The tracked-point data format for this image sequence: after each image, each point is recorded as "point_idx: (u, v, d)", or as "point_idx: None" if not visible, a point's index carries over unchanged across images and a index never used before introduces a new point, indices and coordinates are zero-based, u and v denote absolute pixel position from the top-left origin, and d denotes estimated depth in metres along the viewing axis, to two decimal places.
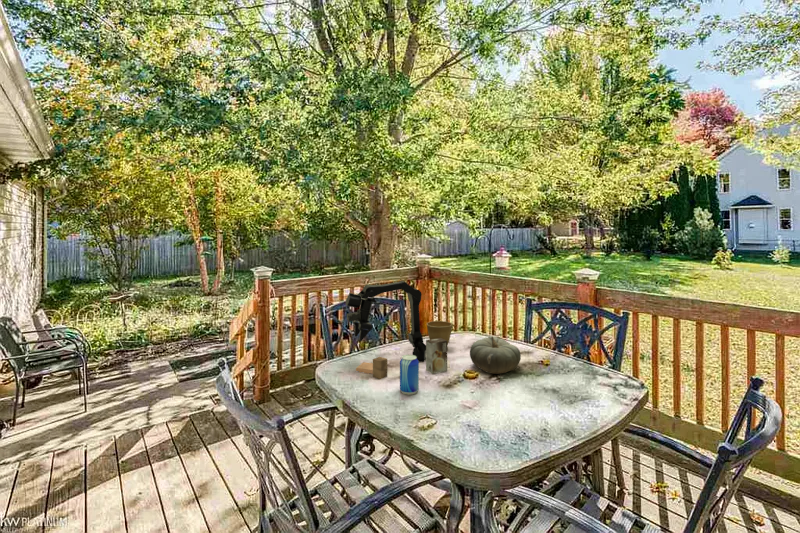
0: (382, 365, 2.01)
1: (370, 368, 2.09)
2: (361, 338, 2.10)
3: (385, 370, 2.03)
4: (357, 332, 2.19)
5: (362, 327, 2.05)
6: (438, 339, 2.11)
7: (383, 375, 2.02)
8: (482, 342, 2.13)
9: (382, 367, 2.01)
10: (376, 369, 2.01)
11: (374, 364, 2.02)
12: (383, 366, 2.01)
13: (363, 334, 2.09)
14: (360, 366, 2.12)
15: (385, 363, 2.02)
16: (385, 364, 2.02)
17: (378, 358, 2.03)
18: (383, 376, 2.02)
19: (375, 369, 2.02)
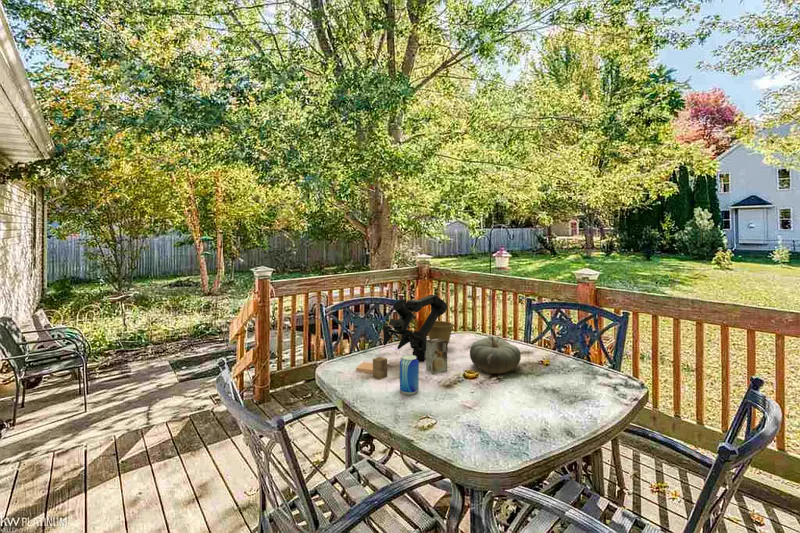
0: (382, 365, 2.01)
1: (370, 368, 2.09)
2: (400, 346, 2.06)
3: (385, 370, 2.03)
4: (386, 342, 2.13)
5: (410, 334, 2.05)
6: (438, 339, 2.11)
7: (383, 375, 2.02)
8: (482, 342, 2.13)
9: (382, 367, 2.01)
10: (376, 369, 2.01)
11: (374, 364, 2.02)
12: (383, 366, 2.01)
13: (403, 343, 2.07)
14: (360, 366, 2.12)
15: (385, 363, 2.02)
16: (385, 364, 2.02)
17: (378, 358, 2.03)
18: (383, 376, 2.02)
19: (375, 369, 2.02)
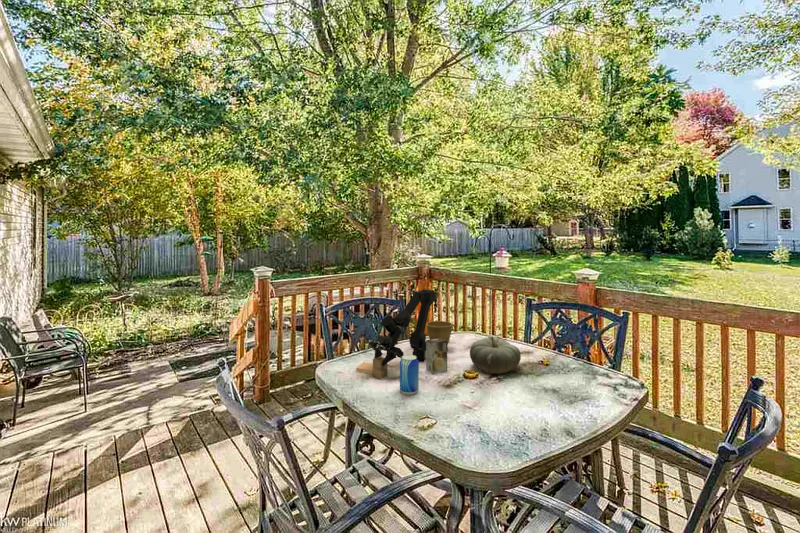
0: None
1: (370, 368, 2.09)
2: (384, 363, 2.01)
3: (385, 370, 2.03)
4: None
5: (398, 352, 1.98)
6: (438, 339, 2.11)
7: (383, 375, 2.02)
8: (482, 342, 2.13)
9: (382, 367, 2.01)
10: (376, 369, 2.01)
11: (374, 364, 2.02)
12: (383, 366, 2.01)
13: (388, 359, 2.02)
14: (360, 366, 2.12)
15: None
16: None
17: (378, 358, 2.03)
18: (383, 376, 2.02)
19: (375, 369, 2.02)
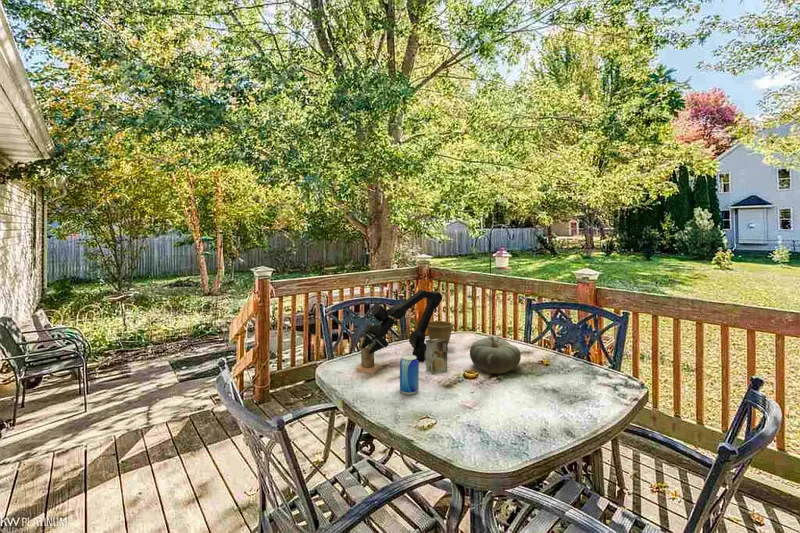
0: (367, 355, 2.09)
1: (370, 368, 2.09)
2: (371, 351, 2.07)
3: (371, 360, 2.11)
4: (364, 345, 2.16)
5: (380, 341, 2.04)
6: (438, 339, 2.11)
7: (368, 364, 2.10)
8: (482, 342, 2.13)
9: (367, 357, 2.10)
10: (363, 358, 2.11)
11: (361, 353, 2.12)
12: (369, 356, 2.10)
13: (375, 348, 2.07)
14: (360, 366, 2.12)
15: None
16: (371, 354, 2.11)
17: (366, 348, 2.13)
18: (369, 366, 2.10)
19: (362, 358, 2.12)
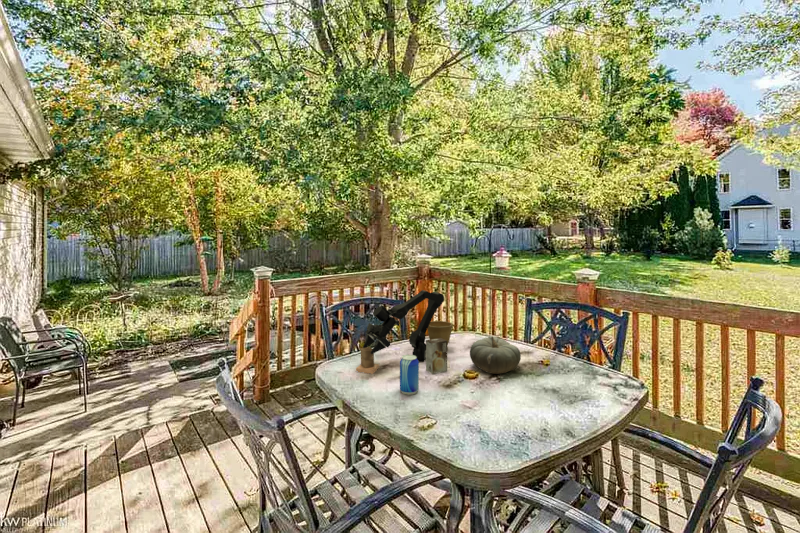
0: (367, 355, 2.09)
1: (370, 368, 2.09)
2: (373, 351, 2.08)
3: (371, 360, 2.11)
4: (366, 345, 2.16)
5: (382, 340, 2.05)
6: (438, 339, 2.11)
7: (368, 364, 2.10)
8: (482, 342, 2.13)
9: (367, 357, 2.10)
10: (363, 358, 2.11)
11: (361, 353, 2.12)
12: (369, 357, 2.10)
13: (377, 348, 2.08)
14: (360, 366, 2.12)
15: None
16: (371, 354, 2.11)
17: (366, 348, 2.12)
18: (368, 366, 2.11)
19: (362, 358, 2.12)
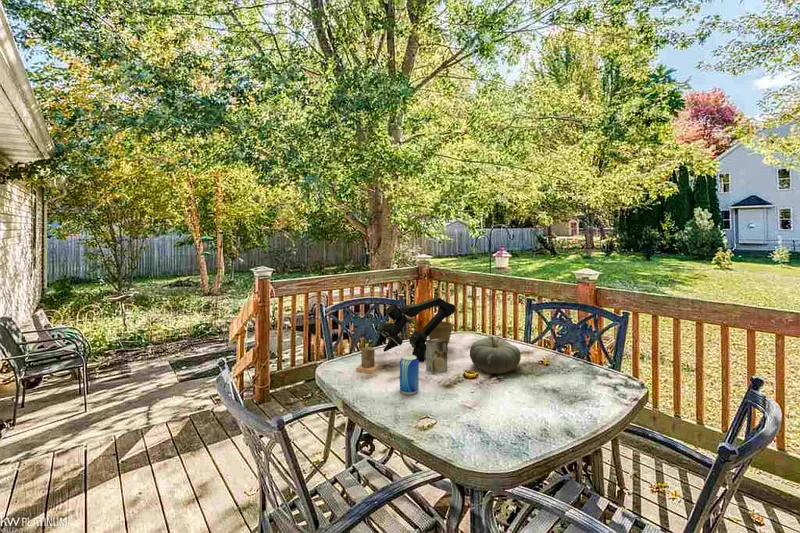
0: (368, 355, 2.10)
1: (370, 368, 2.09)
2: (386, 349, 2.11)
3: (372, 360, 2.11)
4: (379, 343, 2.20)
5: (395, 338, 2.08)
6: (438, 339, 2.11)
7: (369, 364, 2.10)
8: (482, 342, 2.13)
9: (368, 357, 2.10)
10: (363, 358, 2.11)
11: (362, 353, 2.12)
12: (369, 356, 2.10)
13: (390, 346, 2.11)
14: (360, 366, 2.12)
15: (372, 353, 2.11)
16: (372, 354, 2.11)
17: (367, 348, 2.13)
18: (369, 365, 2.11)
19: (363, 358, 2.12)
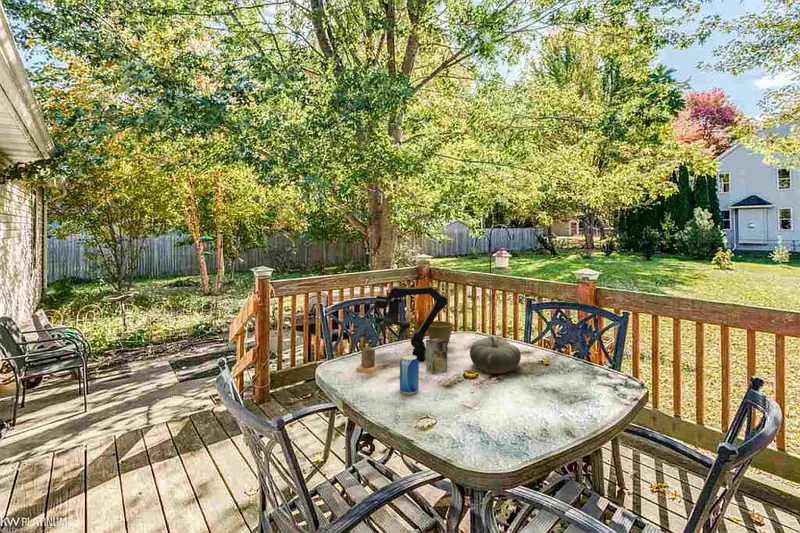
0: (368, 355, 2.10)
1: (370, 368, 2.09)
2: (400, 336, 2.25)
3: (372, 360, 2.11)
4: (384, 332, 2.28)
5: (406, 327, 2.20)
6: (438, 339, 2.11)
7: (369, 364, 2.10)
8: (482, 342, 2.13)
9: (368, 357, 2.10)
10: (363, 358, 2.11)
11: (362, 353, 2.12)
12: (370, 356, 2.10)
13: (401, 332, 2.24)
14: (360, 366, 2.12)
15: (372, 353, 2.11)
16: (372, 354, 2.11)
17: (367, 348, 2.13)
18: (369, 365, 2.11)
19: (363, 358, 2.12)
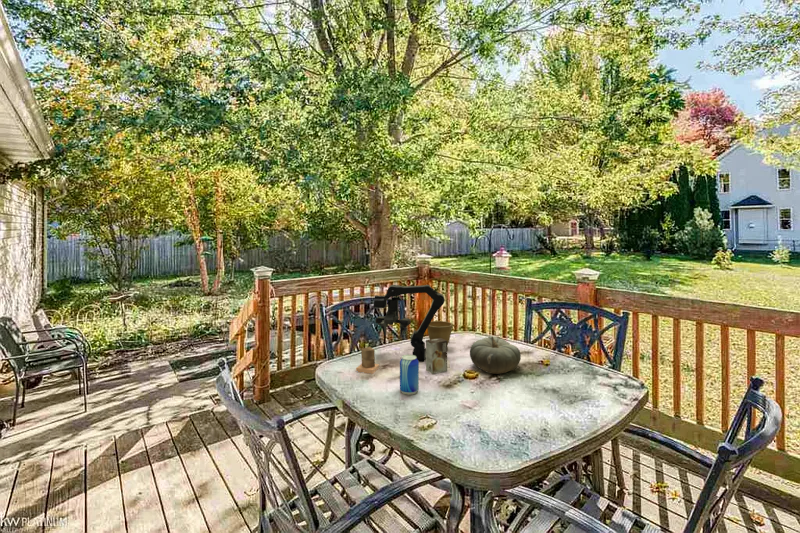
0: (368, 355, 2.09)
1: (370, 368, 2.09)
2: None
3: (372, 360, 2.11)
4: (385, 331, 2.29)
5: (407, 324, 2.22)
6: (438, 339, 2.11)
7: (369, 364, 2.10)
8: (482, 342, 2.13)
9: (368, 357, 2.09)
10: (363, 358, 2.11)
11: (362, 353, 2.12)
12: (369, 357, 2.10)
13: (403, 330, 2.26)
14: (360, 366, 2.12)
15: (372, 353, 2.10)
16: (372, 354, 2.10)
17: (367, 348, 2.12)
18: (369, 366, 2.10)
19: (363, 359, 2.12)
